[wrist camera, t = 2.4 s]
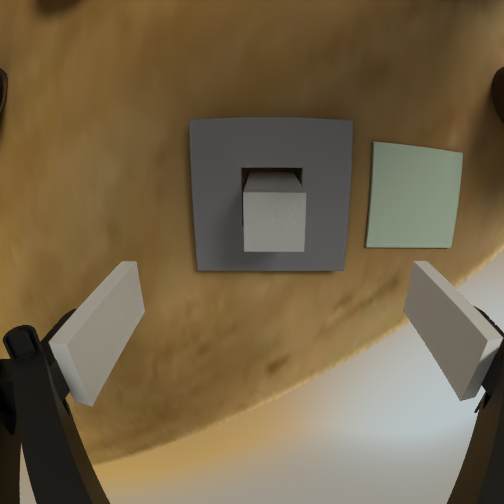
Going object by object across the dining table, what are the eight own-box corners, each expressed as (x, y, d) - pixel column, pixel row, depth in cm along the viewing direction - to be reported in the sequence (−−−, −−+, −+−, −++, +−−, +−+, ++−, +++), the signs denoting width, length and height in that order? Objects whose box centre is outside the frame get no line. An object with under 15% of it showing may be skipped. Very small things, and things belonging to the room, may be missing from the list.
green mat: (372, 141, 32) (374, 141, 31) (460, 152, 31) (463, 153, 31) (365, 245, 36) (366, 247, 35) (449, 246, 35) (450, 247, 35)
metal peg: (250, 171, 33) (242, 192, 23) (292, 171, 33) (306, 192, 23) (250, 212, 35) (244, 251, 24) (291, 212, 35) (304, 251, 24)
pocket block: (194, 120, 32) (189, 119, 29) (346, 121, 31) (352, 120, 29) (201, 261, 37) (197, 270, 35) (339, 261, 37) (343, 270, 34)
